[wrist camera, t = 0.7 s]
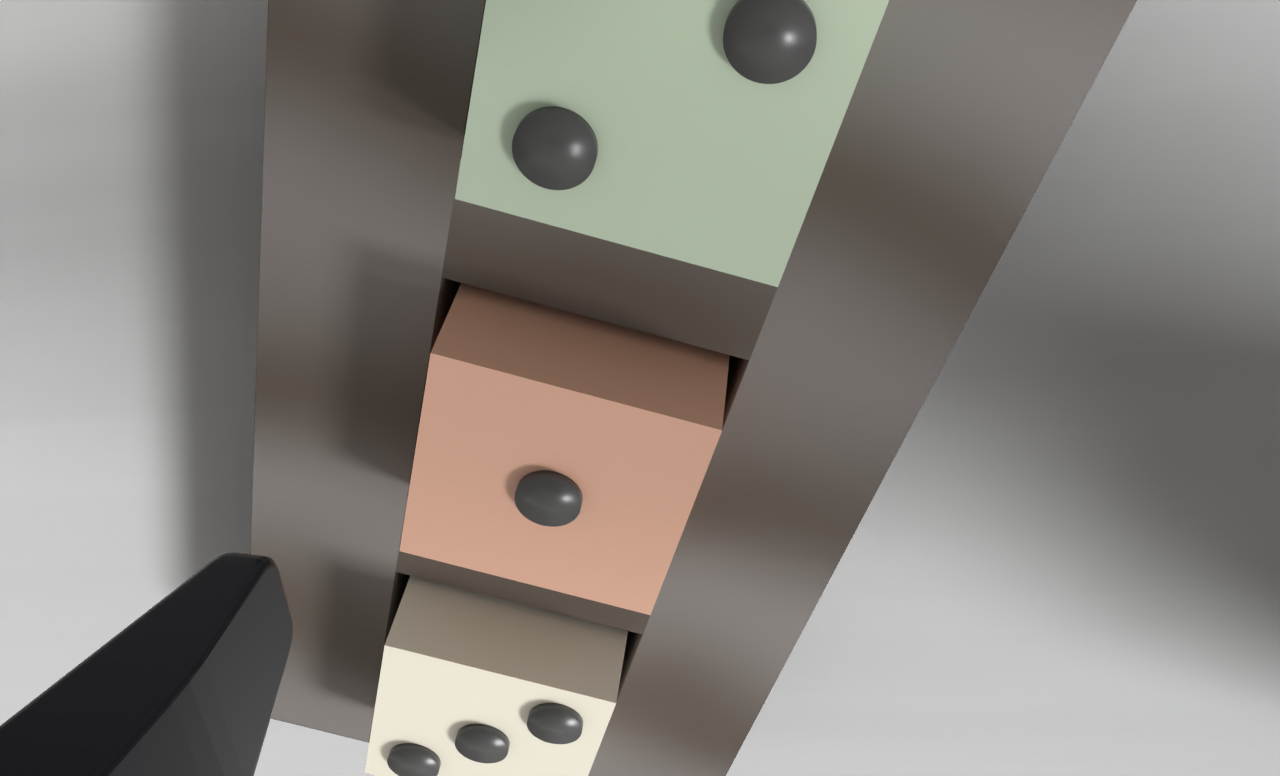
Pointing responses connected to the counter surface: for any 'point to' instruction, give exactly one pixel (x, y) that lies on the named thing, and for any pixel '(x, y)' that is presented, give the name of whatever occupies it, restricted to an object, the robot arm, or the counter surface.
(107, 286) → the counter surface
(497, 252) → the tile board
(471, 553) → the tile one
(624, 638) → the tile three
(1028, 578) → the counter surface
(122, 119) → the counter surface
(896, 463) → the counter surface
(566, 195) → the tile two
